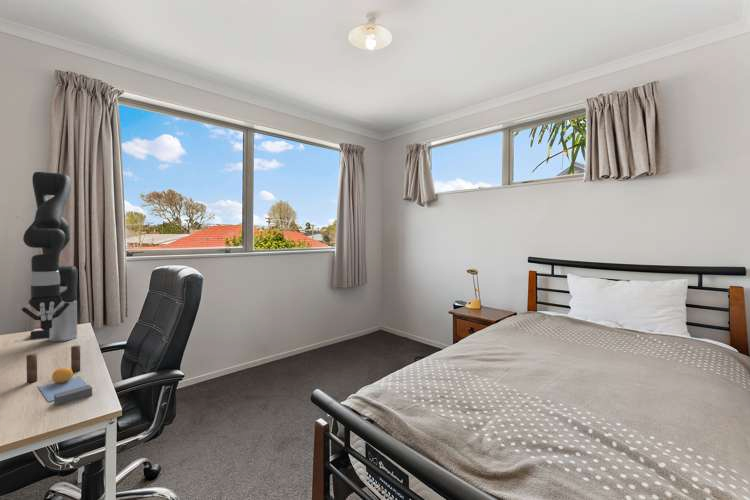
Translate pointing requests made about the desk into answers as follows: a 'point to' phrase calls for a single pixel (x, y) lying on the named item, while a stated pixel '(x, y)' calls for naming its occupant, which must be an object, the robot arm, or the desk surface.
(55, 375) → the ball
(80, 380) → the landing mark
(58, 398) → the stopper wall
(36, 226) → the robot arm
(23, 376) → the desk surface
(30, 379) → the post
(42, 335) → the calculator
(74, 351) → the post
